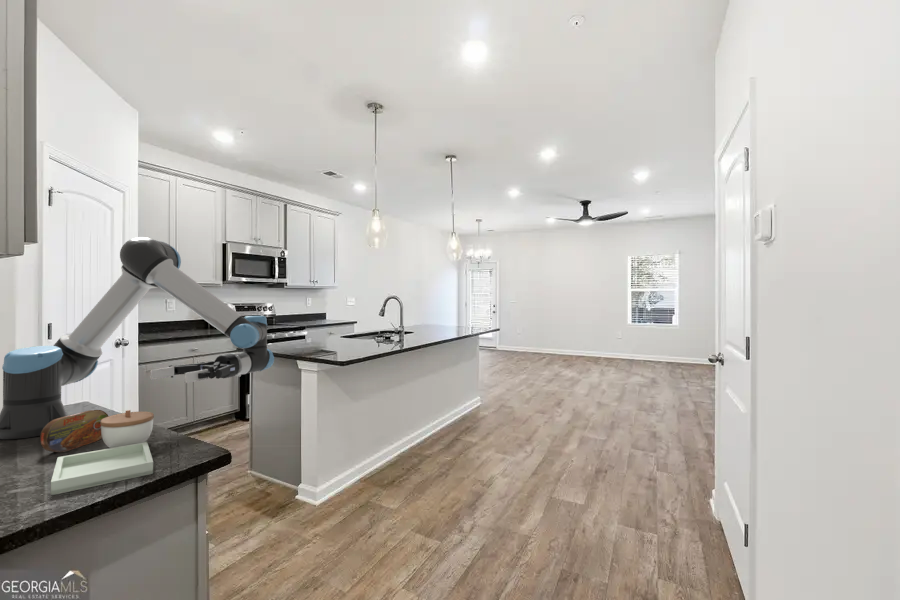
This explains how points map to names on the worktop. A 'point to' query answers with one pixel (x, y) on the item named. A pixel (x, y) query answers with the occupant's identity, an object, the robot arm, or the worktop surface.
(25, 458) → the worktop surface
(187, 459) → the worktop surface
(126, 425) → the lidded jar
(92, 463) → the tray
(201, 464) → the worktop surface
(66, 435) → the tin
